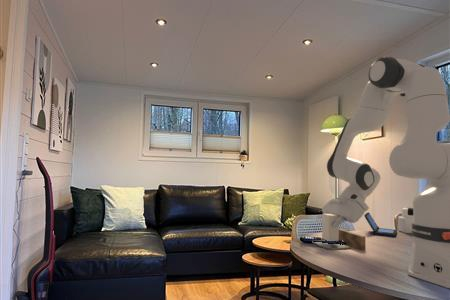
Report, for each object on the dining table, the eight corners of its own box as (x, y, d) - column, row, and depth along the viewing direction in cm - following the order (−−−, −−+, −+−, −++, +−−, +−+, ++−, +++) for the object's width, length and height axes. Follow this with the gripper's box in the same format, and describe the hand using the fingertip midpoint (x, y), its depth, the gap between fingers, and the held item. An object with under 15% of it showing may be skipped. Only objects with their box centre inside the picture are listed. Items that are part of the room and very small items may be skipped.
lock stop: (338, 240, 124) (338, 215, 124) (328, 241, 122) (328, 215, 123) (332, 238, 128) (332, 213, 128) (322, 238, 127) (322, 213, 127)
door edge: (365, 249, 120) (365, 236, 120) (360, 249, 119) (360, 236, 119) (334, 238, 139) (334, 226, 139) (330, 238, 139) (330, 226, 139)
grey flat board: (350, 248, 120) (350, 246, 120) (327, 250, 118) (327, 247, 118) (332, 241, 132) (332, 238, 132) (311, 242, 130) (311, 239, 130)
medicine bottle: (412, 230, 161) (412, 207, 161) (420, 233, 153) (419, 209, 154) (398, 230, 161) (397, 206, 162) (404, 233, 154) (404, 208, 155)
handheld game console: (395, 238, 143) (395, 217, 144) (363, 234, 150) (363, 214, 151) (397, 232, 156) (396, 213, 157) (367, 229, 163) (367, 211, 164)
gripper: (330, 192, 138) (310, 215, 135) (362, 197, 118) (339, 223, 115) (339, 202, 139) (319, 225, 136) (372, 209, 119) (349, 235, 116)
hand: (329, 224), depth 125 cm, fingers closed on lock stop, 4 cm apart
